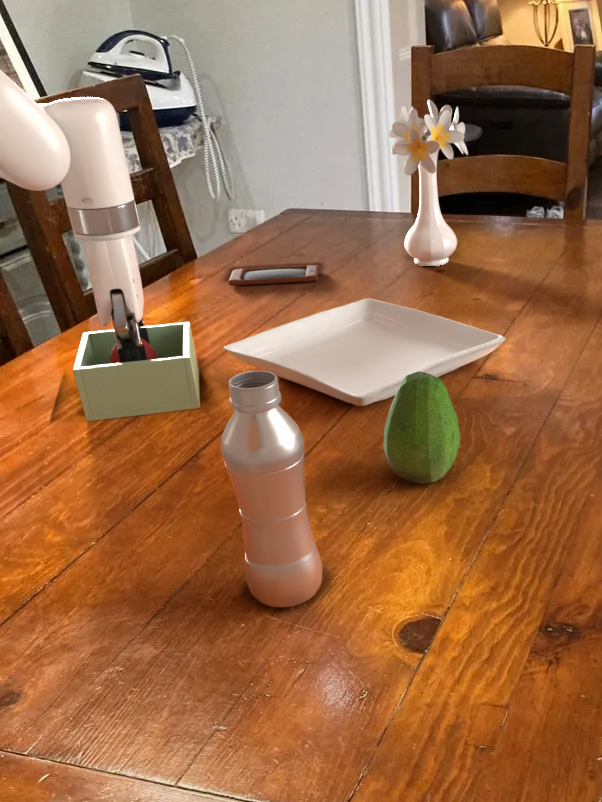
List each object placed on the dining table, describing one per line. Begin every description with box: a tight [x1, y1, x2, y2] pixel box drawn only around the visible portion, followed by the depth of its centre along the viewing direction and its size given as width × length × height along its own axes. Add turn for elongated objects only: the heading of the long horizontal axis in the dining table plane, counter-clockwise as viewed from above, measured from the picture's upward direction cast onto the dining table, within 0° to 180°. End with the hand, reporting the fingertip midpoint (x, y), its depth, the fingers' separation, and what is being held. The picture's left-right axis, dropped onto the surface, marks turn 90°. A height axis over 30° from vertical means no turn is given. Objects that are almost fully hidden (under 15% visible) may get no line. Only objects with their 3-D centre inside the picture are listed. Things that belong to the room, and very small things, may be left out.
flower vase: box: [388, 99, 469, 267], centre depth 158 cm, size 13×18×25 cm
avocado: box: [383, 371, 461, 485], centre depth 96 cm, size 8×8×12 cm
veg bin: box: [72, 321, 201, 422], centre depth 119 cm, size 14×14×7 cm
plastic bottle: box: [219, 370, 323, 608], centre depth 76 cm, size 6×7×20 cm
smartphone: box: [228, 264, 320, 286], centre depth 160 cm, size 7×1×15 cm
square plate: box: [223, 298, 506, 407], centre depth 125 cm, size 27×27×4 cm
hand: (138, 367), depth 119 cm, fingers closed on onion, 5 cm apart
